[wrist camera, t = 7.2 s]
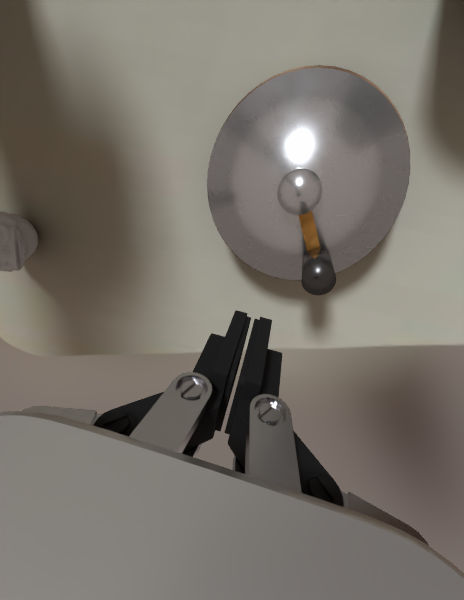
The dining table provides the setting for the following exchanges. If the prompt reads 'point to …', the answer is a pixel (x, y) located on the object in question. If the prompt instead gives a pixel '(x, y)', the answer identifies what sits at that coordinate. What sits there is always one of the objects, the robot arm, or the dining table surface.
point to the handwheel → (308, 175)
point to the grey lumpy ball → (15, 241)
